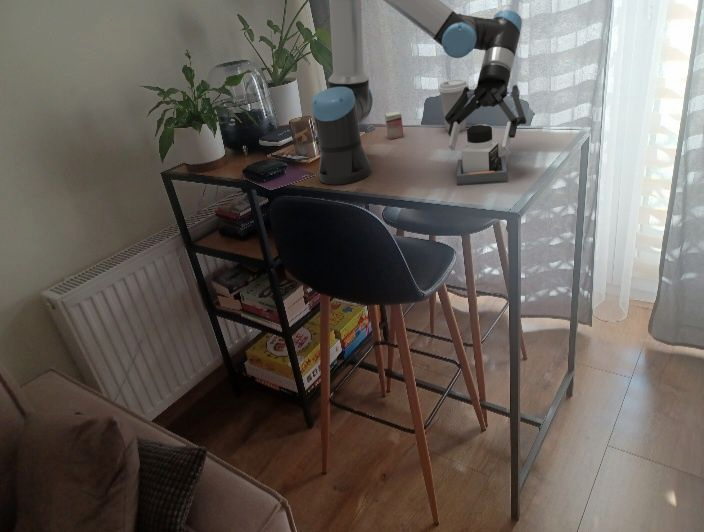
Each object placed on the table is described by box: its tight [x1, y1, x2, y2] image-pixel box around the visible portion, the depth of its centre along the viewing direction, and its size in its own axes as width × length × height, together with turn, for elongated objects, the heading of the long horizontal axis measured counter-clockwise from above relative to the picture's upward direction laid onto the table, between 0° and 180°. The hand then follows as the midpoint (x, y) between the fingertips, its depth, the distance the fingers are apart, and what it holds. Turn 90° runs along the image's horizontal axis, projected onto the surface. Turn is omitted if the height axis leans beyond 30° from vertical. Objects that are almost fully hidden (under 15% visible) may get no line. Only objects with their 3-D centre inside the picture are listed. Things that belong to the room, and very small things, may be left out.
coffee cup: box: [438, 78, 470, 132], centre depth 169 cm, size 10×10×15 cm
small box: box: [384, 110, 405, 140], centre depth 174 cm, size 5×4×8 cm
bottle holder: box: [456, 155, 508, 186], centre depth 133 cm, size 12×12×3 cm
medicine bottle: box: [461, 123, 500, 174], centre depth 131 cm, size 7×7×12 cm
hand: (477, 148), depth 128 cm, fingers open, 13 cm apart
